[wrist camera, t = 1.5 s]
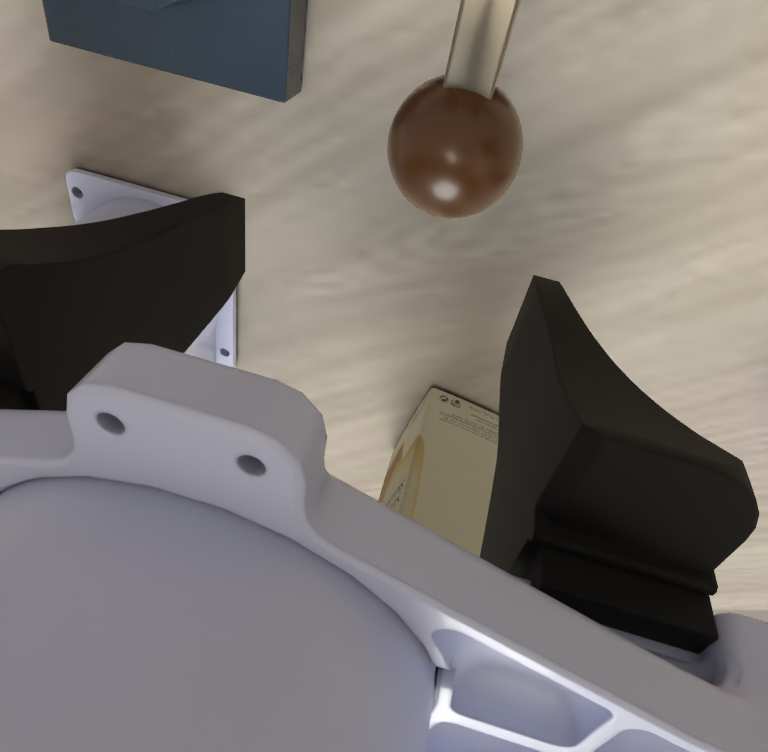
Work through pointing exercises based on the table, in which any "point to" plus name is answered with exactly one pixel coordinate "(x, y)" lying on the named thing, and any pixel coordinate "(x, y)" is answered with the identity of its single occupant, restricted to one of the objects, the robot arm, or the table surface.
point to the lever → (461, 122)
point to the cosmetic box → (445, 469)
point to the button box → (193, 38)
